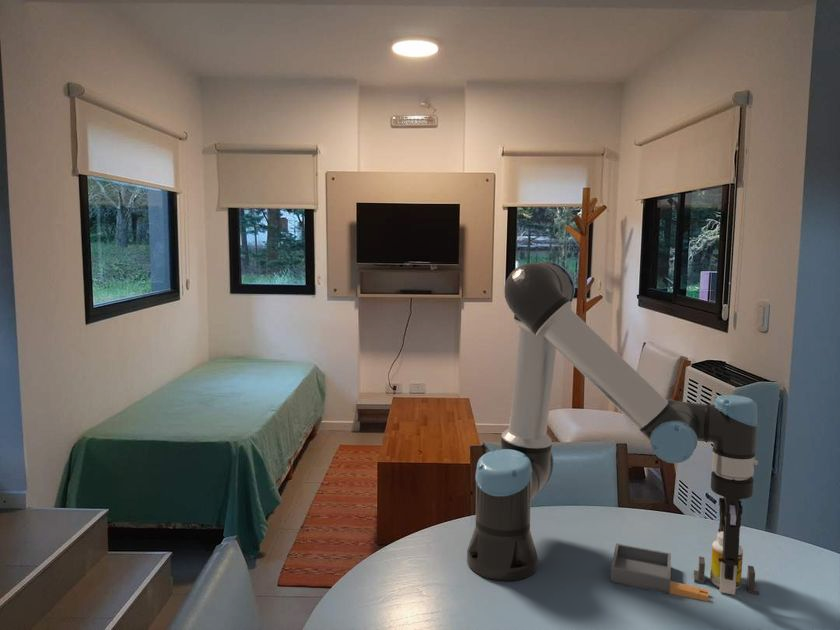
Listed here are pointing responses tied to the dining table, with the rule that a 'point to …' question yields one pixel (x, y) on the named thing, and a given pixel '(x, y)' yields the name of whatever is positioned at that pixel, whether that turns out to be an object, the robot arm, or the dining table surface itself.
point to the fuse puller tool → (688, 591)
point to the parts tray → (641, 568)
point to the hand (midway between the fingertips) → (725, 582)
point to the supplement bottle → (716, 565)
